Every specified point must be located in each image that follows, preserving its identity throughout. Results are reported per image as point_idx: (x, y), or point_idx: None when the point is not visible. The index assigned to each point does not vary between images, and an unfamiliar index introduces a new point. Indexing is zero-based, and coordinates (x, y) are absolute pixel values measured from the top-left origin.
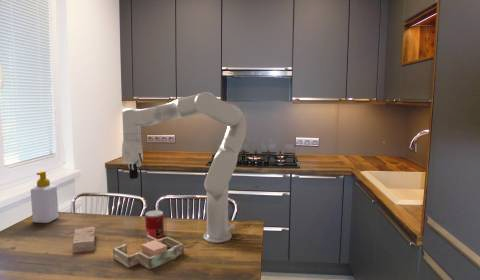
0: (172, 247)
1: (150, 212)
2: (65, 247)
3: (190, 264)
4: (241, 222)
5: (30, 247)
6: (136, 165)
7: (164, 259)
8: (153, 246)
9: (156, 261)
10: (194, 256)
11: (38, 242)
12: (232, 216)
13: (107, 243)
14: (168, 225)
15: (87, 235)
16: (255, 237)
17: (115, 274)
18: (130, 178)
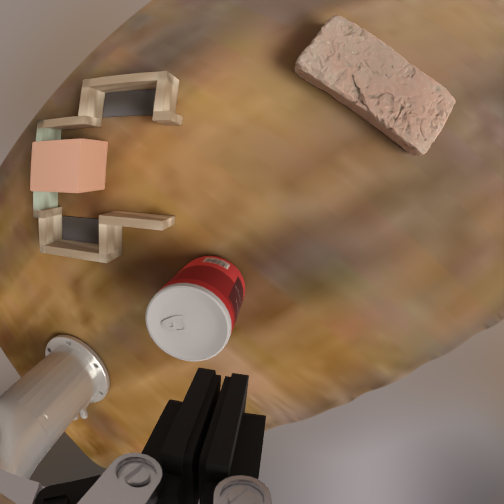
0: (41, 212)
1: (216, 326)
2: (391, 38)
3: (16, 210)
4: None
5: (461, 4)
6: (31, 500)
7: None
8: (49, 158)
9: None
10: (33, 247)
11: (481, 34)
12: None
13: (305, 133)
14: (254, 376)
15: (369, 83)
16: None
17: (101, 47)
18: (234, 373)
